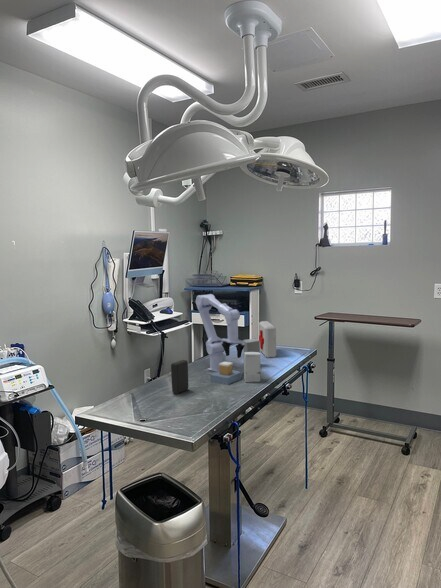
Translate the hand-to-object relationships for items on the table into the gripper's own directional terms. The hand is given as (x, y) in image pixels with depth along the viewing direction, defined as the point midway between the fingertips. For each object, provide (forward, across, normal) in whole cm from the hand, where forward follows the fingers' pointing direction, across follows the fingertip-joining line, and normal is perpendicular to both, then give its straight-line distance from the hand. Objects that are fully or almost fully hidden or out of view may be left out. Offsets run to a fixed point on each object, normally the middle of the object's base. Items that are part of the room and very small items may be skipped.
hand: (233, 356), depth 238 cm
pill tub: (+7, +2, -9) cm, 12 cm away
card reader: (+11, -7, -36) cm, 38 cm away
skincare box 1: (+11, -1, +20) cm, 23 cm away
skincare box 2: (+11, +14, -3) cm, 18 cm away
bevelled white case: (+11, -8, +49) cm, 51 cm away
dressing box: (+11, +1, -9) cm, 14 cm away
